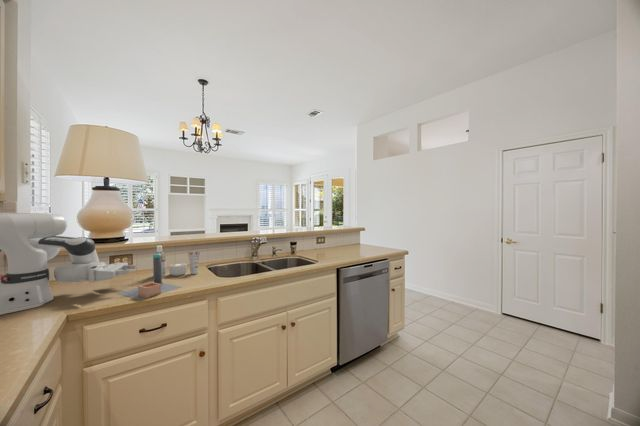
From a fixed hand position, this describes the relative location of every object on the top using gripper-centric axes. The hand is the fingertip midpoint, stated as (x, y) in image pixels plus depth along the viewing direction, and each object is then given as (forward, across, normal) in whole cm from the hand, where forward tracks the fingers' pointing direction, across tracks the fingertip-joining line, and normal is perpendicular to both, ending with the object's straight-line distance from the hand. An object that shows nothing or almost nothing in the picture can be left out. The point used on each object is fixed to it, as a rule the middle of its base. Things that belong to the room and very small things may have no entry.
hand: (132, 269), depth 127 cm
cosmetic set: (+17, -21, -11) cm, 29 cm away
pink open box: (+11, +15, -9) cm, 21 cm away
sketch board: (+10, +8, -10) cm, 16 cm away
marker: (+11, -1, -9) cm, 14 cm away
